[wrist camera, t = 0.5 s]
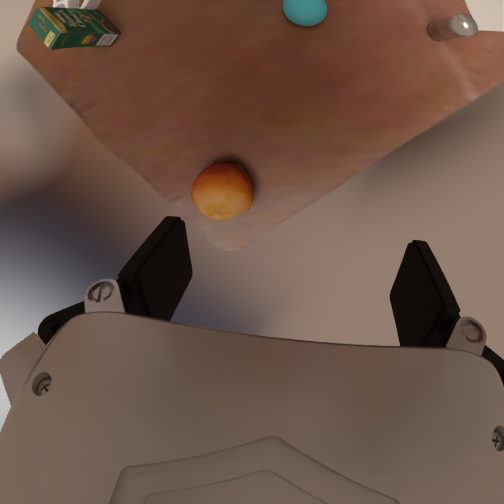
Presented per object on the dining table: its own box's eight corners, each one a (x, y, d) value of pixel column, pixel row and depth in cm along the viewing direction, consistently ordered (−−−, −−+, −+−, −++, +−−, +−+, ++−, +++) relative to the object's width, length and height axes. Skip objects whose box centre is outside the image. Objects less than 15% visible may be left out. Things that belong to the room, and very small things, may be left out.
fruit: (249, 142, 33) (243, 193, 30) (260, 180, 40) (256, 227, 37) (190, 149, 35) (177, 197, 32) (209, 184, 42) (200, 229, 39)
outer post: (423, 24, 20) (455, 13, 13) (438, 22, 19) (472, 13, 12) (431, 41, 21) (464, 35, 14) (446, 40, 20) (481, 35, 13)
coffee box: (123, 34, 27) (59, 32, 16) (111, 48, 28) (47, 51, 18) (99, 9, 24) (37, 5, 13) (88, 22, 25) (26, 23, 15)
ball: (277, 3, 23) (272, -8, 19) (314, -8, 21) (316, -21, 17) (294, 34, 25) (293, 27, 21) (332, 23, 23) (336, 14, 19)
